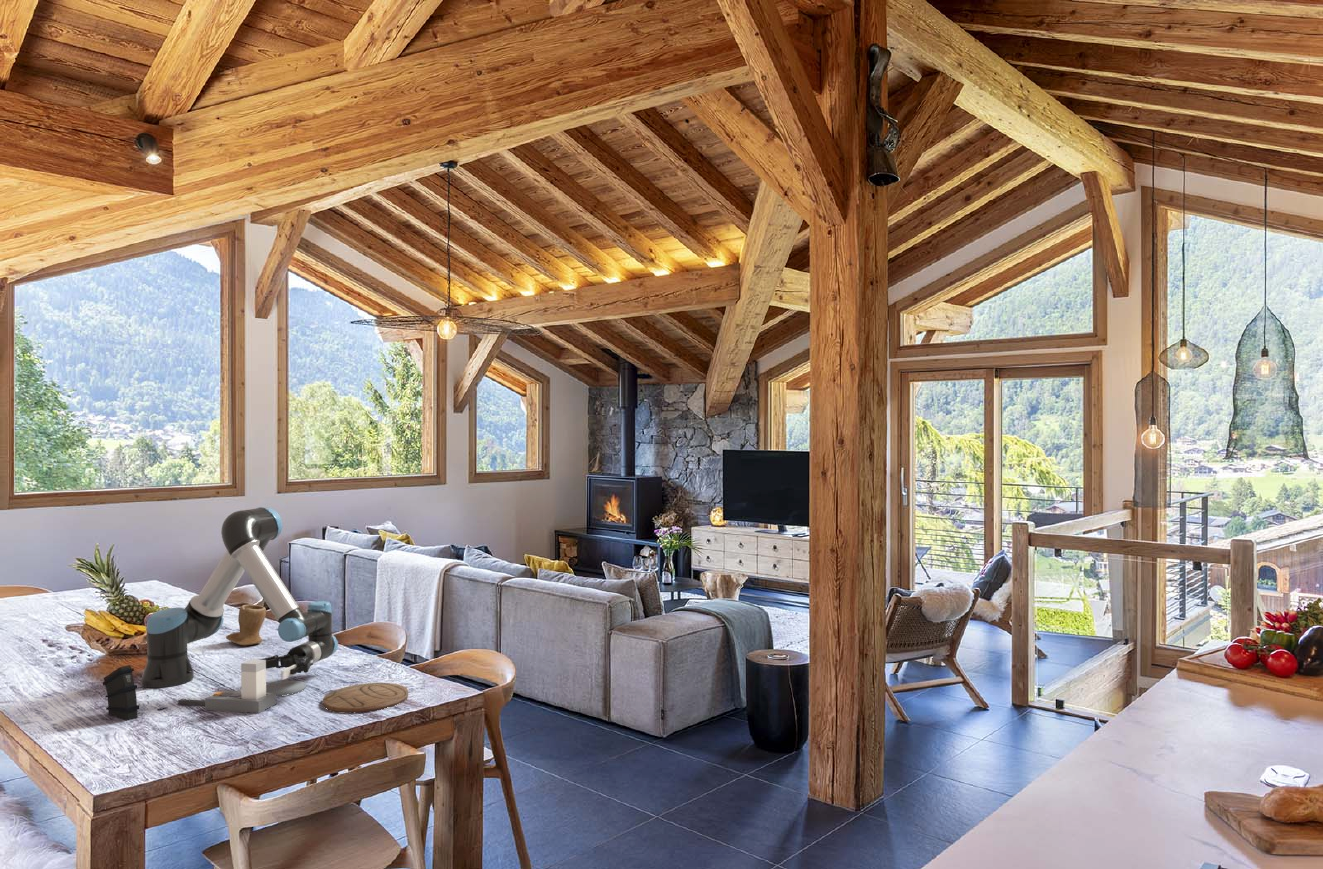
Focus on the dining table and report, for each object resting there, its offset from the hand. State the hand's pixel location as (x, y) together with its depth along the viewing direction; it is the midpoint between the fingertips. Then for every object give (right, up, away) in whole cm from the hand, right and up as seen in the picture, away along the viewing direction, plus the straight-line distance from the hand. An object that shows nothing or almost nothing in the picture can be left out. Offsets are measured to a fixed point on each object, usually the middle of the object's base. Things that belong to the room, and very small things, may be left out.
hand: (262, 674), depth 260 cm
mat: (0, -9, +15) cm, 17 cm away
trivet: (+30, -10, +4) cm, 32 cm away
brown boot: (-42, -10, +77) cm, 88 cm away
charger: (-1, -7, -3) cm, 8 cm away
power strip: (-12, -10, -1) cm, 15 cm away
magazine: (-38, -10, -8) cm, 40 cm away
